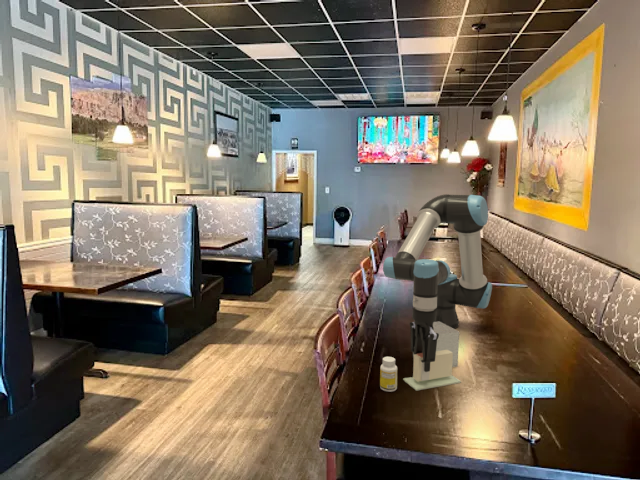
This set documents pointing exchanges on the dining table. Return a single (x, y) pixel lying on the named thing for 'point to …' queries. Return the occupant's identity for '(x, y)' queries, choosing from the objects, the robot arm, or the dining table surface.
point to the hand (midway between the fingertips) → (421, 377)
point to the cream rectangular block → (434, 365)
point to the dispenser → (447, 340)
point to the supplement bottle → (388, 374)
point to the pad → (431, 382)
